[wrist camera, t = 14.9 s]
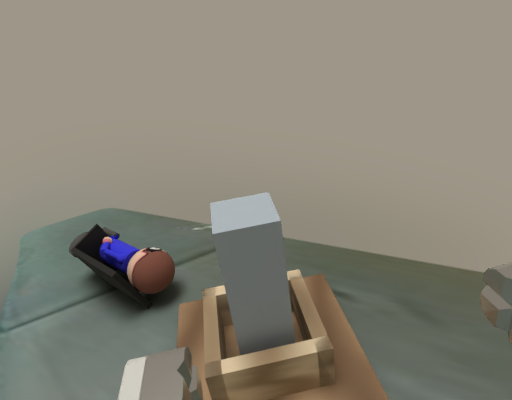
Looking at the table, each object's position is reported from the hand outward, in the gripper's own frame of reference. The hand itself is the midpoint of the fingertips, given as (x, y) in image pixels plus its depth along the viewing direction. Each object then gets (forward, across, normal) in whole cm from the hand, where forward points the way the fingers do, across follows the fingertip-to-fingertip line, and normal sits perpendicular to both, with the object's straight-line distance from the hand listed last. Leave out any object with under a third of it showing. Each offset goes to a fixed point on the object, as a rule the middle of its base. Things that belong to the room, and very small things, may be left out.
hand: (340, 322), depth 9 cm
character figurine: (+29, +18, +19) cm, 39 cm away
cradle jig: (+15, +3, +19) cm, 24 cm away
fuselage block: (+15, +2, +18) cm, 24 cm away
